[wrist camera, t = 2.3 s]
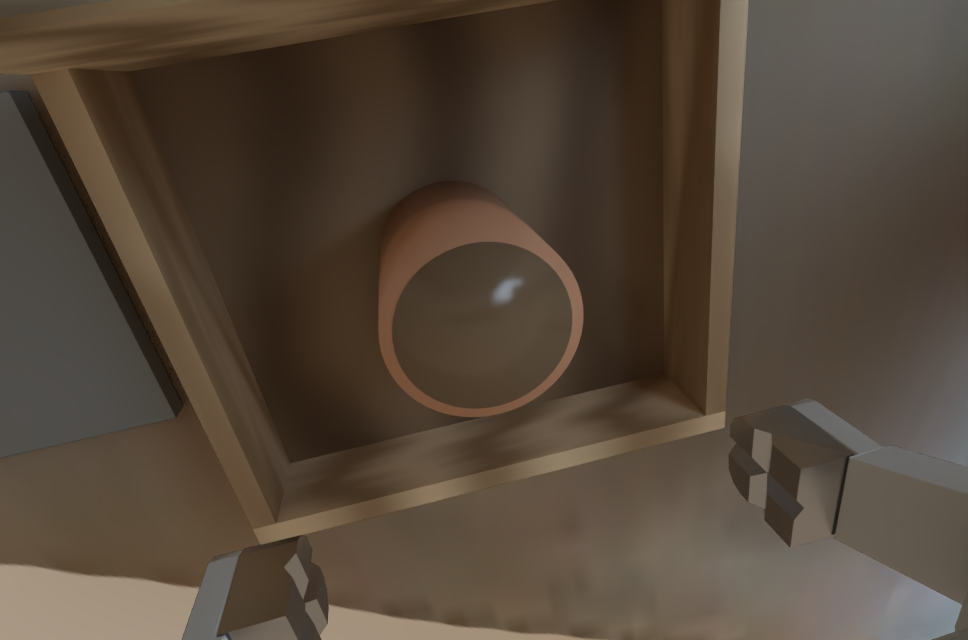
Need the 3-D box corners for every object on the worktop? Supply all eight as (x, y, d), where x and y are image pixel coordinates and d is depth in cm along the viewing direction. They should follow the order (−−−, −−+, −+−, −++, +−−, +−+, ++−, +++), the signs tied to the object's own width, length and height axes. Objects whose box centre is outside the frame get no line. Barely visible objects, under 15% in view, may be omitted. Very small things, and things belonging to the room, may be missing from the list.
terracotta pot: (512, 167, 22) (576, 208, 15) (530, 303, 25) (591, 393, 18) (362, 196, 22) (352, 254, 14) (397, 332, 24) (405, 438, 17)
